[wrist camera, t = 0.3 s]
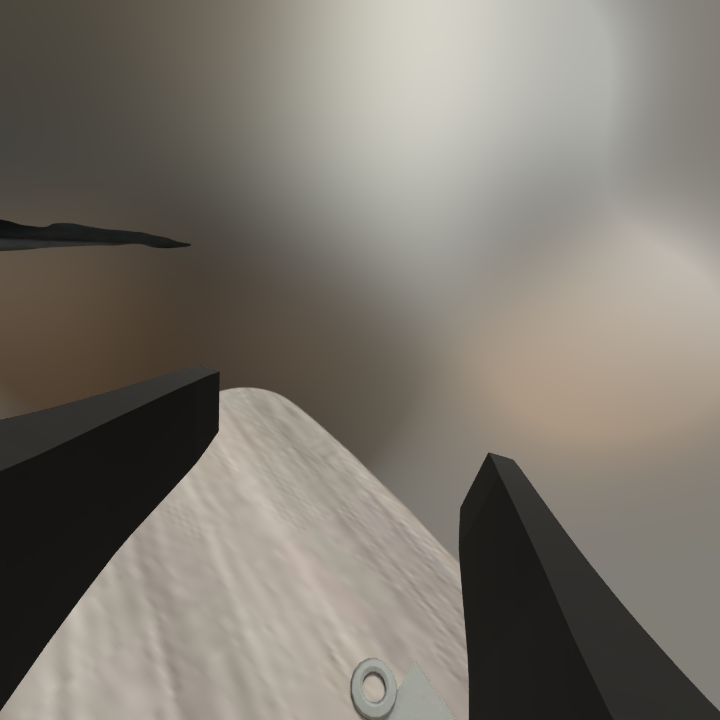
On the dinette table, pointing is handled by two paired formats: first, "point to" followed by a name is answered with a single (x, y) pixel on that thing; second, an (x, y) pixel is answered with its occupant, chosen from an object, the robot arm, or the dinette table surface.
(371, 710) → the mounting bracket
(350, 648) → the dinette table surface
